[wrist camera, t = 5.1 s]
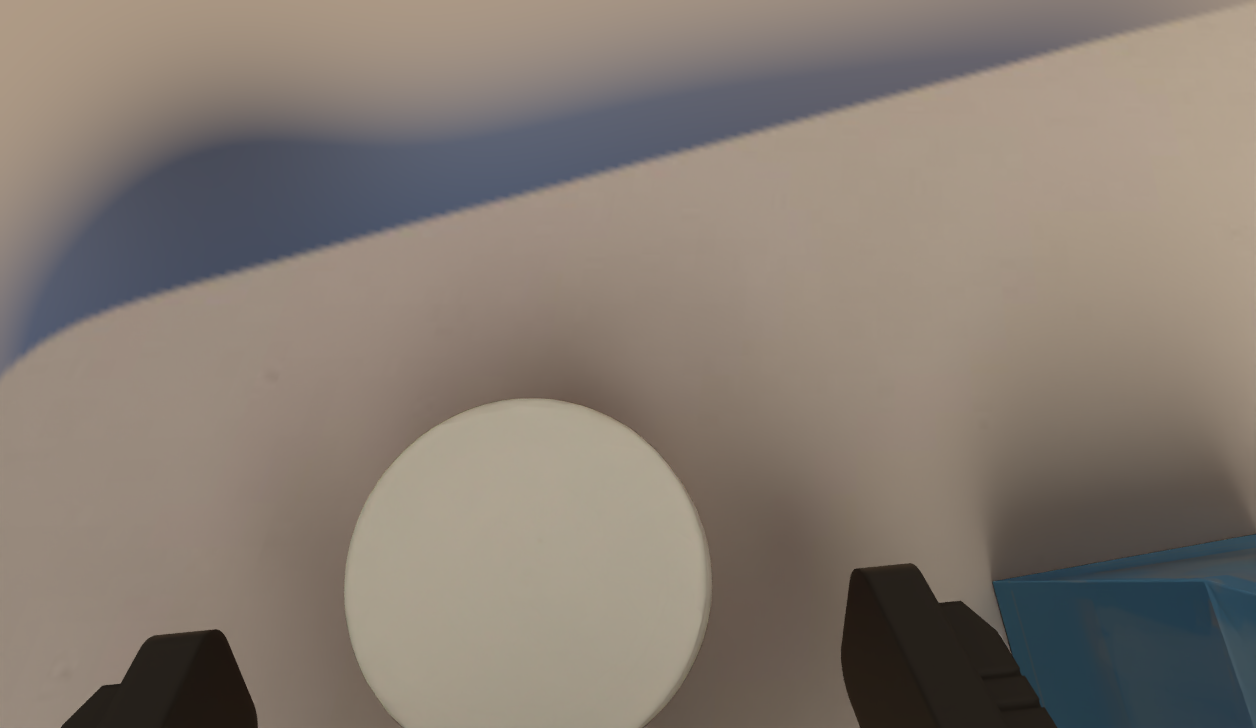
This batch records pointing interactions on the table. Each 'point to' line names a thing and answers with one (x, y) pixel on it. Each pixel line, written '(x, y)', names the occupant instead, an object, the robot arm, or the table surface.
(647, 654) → the pill bottle
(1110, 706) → the perfume bottle
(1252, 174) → the table surface
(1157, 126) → the table surface
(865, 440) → the table surface
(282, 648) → the table surface
